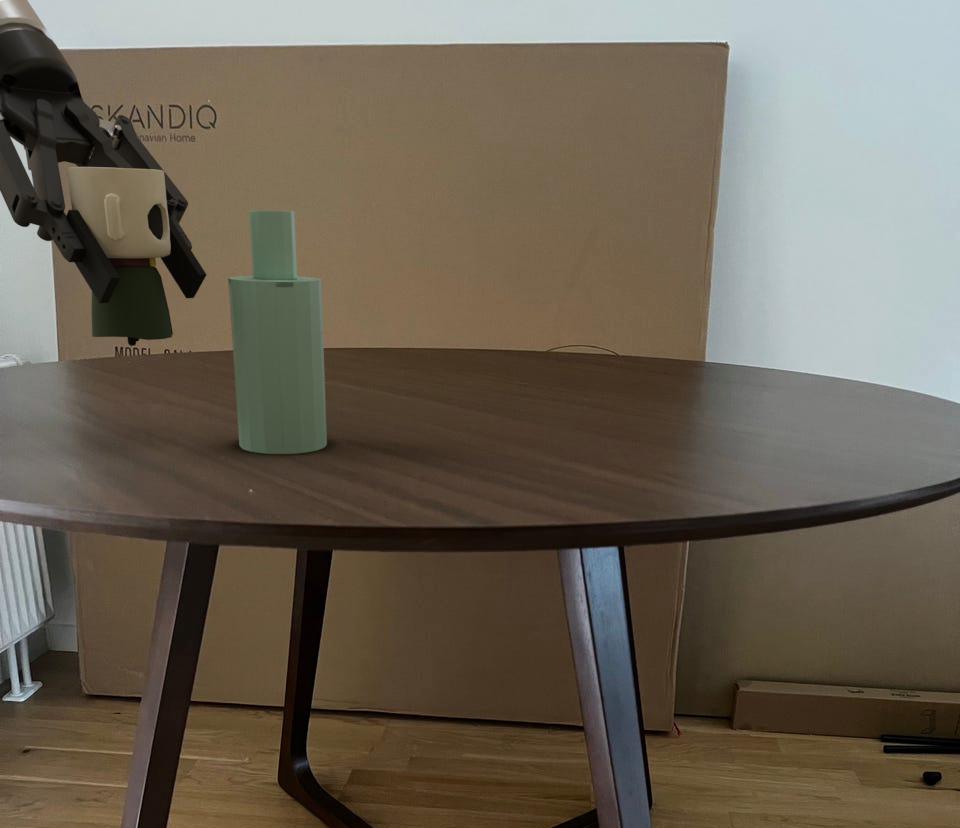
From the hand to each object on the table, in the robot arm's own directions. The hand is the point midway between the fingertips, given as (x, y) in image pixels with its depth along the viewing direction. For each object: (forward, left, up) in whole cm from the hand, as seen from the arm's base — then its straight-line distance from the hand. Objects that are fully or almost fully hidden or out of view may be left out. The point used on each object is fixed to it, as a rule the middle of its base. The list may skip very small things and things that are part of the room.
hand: (154, 288), depth 80 cm
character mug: (-2, +3, -5) cm, 6 cm away
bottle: (+9, -1, -13) cm, 16 cm away
